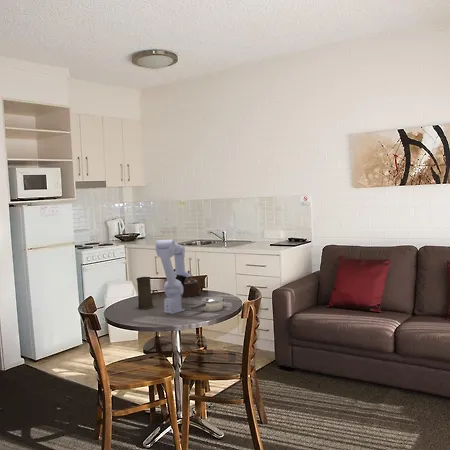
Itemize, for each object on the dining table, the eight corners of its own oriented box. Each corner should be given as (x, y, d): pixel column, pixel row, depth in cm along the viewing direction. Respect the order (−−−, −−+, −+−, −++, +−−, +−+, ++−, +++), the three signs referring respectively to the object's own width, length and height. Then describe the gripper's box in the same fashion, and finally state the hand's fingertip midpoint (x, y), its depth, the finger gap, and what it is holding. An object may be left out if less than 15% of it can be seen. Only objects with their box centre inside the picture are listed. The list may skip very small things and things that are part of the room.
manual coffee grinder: (198, 293, 326) (196, 266, 324) (198, 296, 315) (196, 269, 313) (174, 295, 325) (172, 268, 323) (174, 298, 314) (172, 270, 312)
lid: (196, 301, 280) (196, 298, 280) (212, 296, 289) (212, 293, 289) (211, 303, 272) (211, 300, 272) (227, 298, 280) (227, 295, 280)
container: (150, 309, 289) (148, 279, 288) (135, 309, 291) (133, 279, 289) (155, 305, 298) (153, 276, 296) (141, 305, 300) (139, 276, 298)
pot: (200, 316, 266) (199, 307, 266) (185, 313, 275) (185, 304, 274) (230, 307, 282) (229, 298, 282) (215, 304, 291) (214, 296, 291)
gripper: (192, 265, 291) (194, 287, 292) (177, 263, 301) (178, 285, 303) (183, 267, 286) (185, 290, 287) (168, 265, 296) (169, 287, 298)
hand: (181, 287), depth 295 cm, fingers closed
